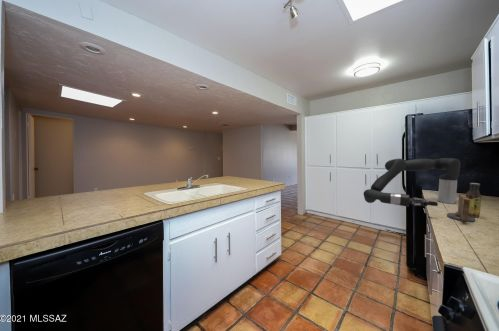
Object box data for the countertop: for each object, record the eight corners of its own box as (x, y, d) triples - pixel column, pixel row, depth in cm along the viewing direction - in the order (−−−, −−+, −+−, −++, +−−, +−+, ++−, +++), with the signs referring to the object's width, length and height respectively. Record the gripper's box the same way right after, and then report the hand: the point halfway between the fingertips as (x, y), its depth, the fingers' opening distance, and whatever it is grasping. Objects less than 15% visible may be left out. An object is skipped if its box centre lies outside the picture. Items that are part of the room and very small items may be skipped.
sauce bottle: (475, 218, 109) (478, 184, 107) (461, 214, 115) (463, 182, 113) (482, 216, 110) (485, 184, 109) (467, 213, 116) (470, 182, 115)
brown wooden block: (454, 213, 112) (456, 194, 111) (465, 215, 109) (467, 195, 108) (459, 220, 102) (460, 198, 101) (471, 222, 99) (473, 200, 98)
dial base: (445, 213, 117) (445, 211, 116) (472, 217, 109) (472, 215, 109) (448, 219, 108) (448, 216, 108) (477, 223, 101) (478, 221, 101)
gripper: (399, 196, 115) (439, 200, 104) (400, 191, 125) (436, 195, 114) (399, 207, 116) (438, 213, 104) (399, 202, 126) (435, 207, 114)
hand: (437, 204), depth 109 cm, fingers closed
